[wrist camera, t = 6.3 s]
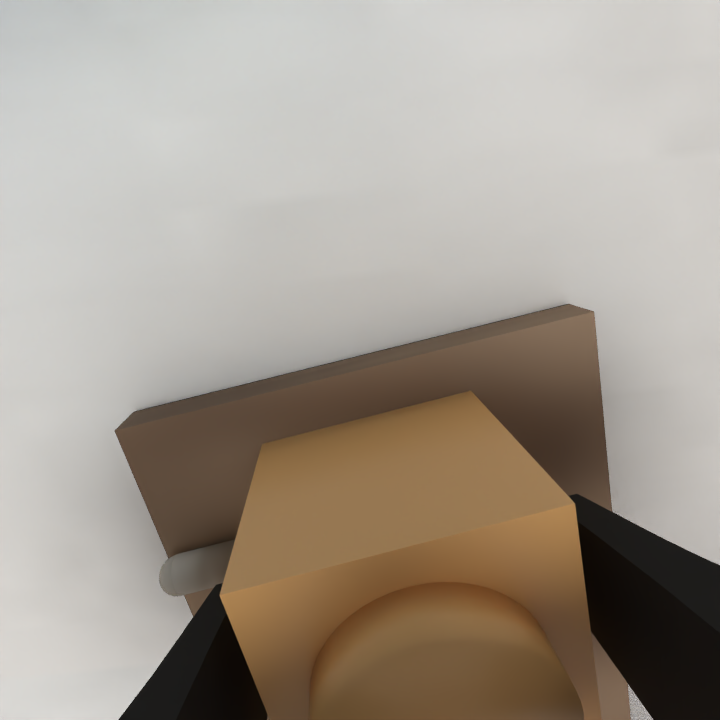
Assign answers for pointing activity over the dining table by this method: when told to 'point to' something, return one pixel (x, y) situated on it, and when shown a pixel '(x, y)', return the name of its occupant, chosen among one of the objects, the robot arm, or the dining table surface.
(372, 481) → the cube with round boss
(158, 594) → the dining table surface
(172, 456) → the junction board
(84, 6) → the dining table surface
